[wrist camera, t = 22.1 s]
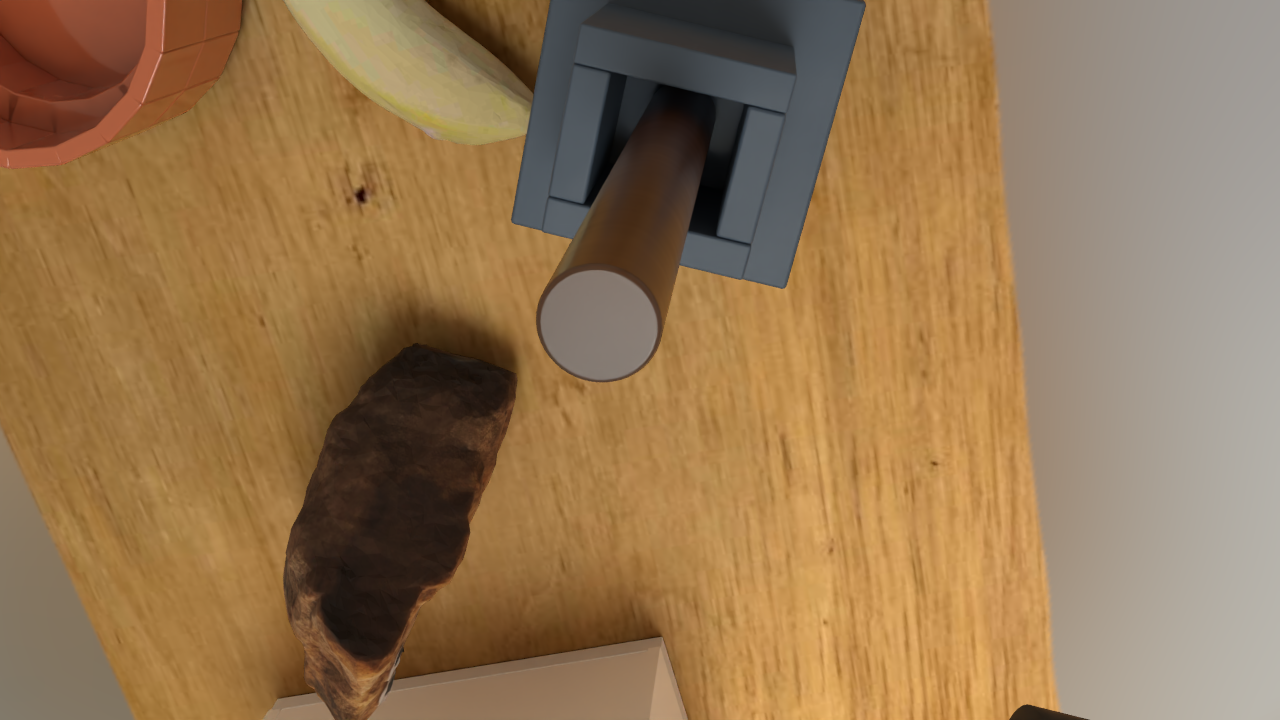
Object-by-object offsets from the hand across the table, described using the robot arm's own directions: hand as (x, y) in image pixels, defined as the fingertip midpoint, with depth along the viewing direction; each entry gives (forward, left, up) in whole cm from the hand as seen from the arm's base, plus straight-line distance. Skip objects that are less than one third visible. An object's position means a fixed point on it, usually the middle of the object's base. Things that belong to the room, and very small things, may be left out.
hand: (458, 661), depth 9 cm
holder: (0, 0, -32) cm, 33 cm away
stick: (0, 0, -20) cm, 21 cm away
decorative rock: (+18, -7, -33) cm, 38 cm away
